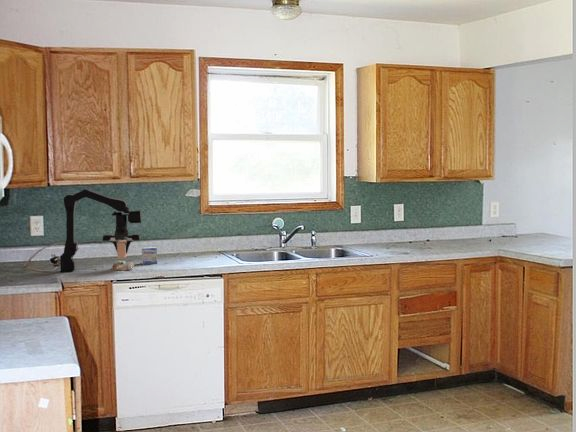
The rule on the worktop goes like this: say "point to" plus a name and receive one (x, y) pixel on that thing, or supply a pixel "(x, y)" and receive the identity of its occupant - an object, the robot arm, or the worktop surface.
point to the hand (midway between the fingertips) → (122, 253)
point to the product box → (121, 249)
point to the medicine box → (149, 255)
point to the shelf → (122, 267)
